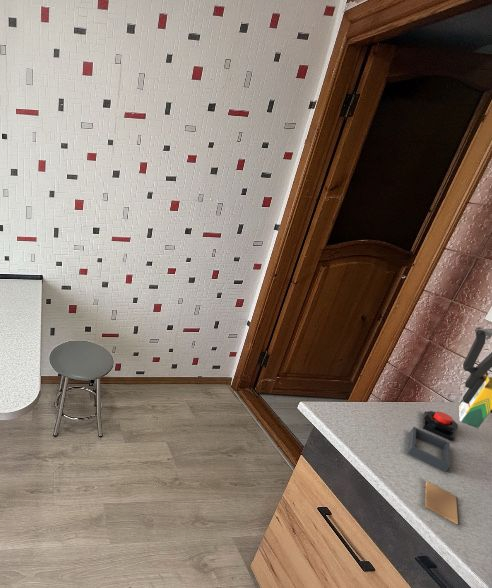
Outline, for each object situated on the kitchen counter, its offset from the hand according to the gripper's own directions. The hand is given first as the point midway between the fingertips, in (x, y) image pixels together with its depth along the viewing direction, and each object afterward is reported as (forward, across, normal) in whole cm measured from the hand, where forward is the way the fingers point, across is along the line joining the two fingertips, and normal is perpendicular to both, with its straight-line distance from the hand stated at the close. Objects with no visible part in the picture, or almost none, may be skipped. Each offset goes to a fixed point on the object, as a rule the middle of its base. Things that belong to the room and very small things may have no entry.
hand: (477, 404), depth 75 cm
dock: (+21, -1, +7) cm, 22 cm away
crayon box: (+4, 0, 0) cm, 4 cm away
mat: (+21, +2, -11) cm, 24 cm away
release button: (+18, +1, +22) cm, 29 cm away
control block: (+21, +1, +22) cm, 31 cm away
